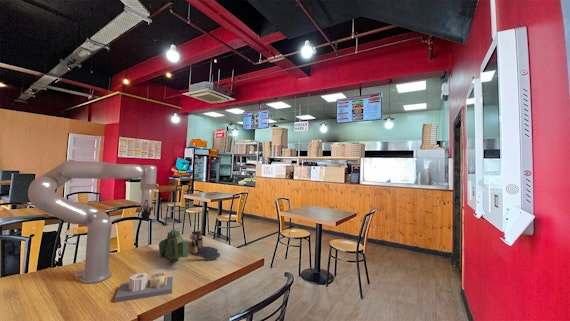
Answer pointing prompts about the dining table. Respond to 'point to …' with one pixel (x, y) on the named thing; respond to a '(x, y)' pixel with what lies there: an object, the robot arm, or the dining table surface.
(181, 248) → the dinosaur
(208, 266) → the dining table surface
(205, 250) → the stone
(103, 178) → the robot arm
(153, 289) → the gear board
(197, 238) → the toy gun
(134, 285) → the loose gear
